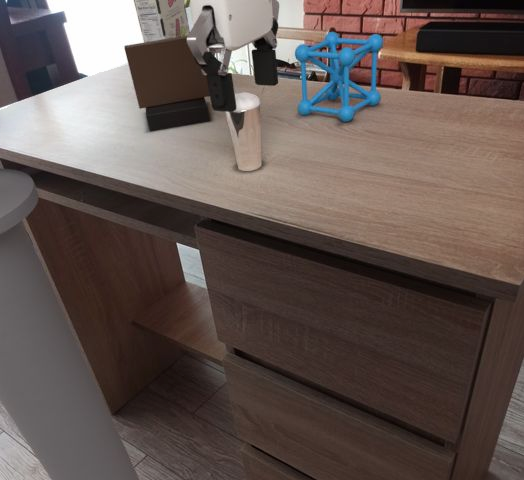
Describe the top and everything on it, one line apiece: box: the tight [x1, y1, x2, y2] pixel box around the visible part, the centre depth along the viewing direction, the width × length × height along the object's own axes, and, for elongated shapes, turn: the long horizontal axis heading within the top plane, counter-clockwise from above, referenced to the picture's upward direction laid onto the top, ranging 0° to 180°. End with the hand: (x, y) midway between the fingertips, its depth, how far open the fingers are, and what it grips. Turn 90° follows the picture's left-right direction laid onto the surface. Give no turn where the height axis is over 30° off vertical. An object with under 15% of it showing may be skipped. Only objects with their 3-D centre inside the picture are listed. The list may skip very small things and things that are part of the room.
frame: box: [123, 35, 210, 109], centre depth 84 cm, size 12×2×9 cm, turn 102°
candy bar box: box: [133, 0, 191, 43], centre depth 98 cm, size 11×5×16 cm, turn 164°
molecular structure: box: [294, 31, 384, 123], centre depth 80 cm, size 10×10×10 cm
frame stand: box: [145, 97, 210, 132], centre depth 88 cm, size 10×10×2 cm
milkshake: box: [224, 85, 266, 172], centre depth 67 cm, size 4×5×10 cm
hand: (246, 97), depth 64 cm, fingers open, 9 cm apart
